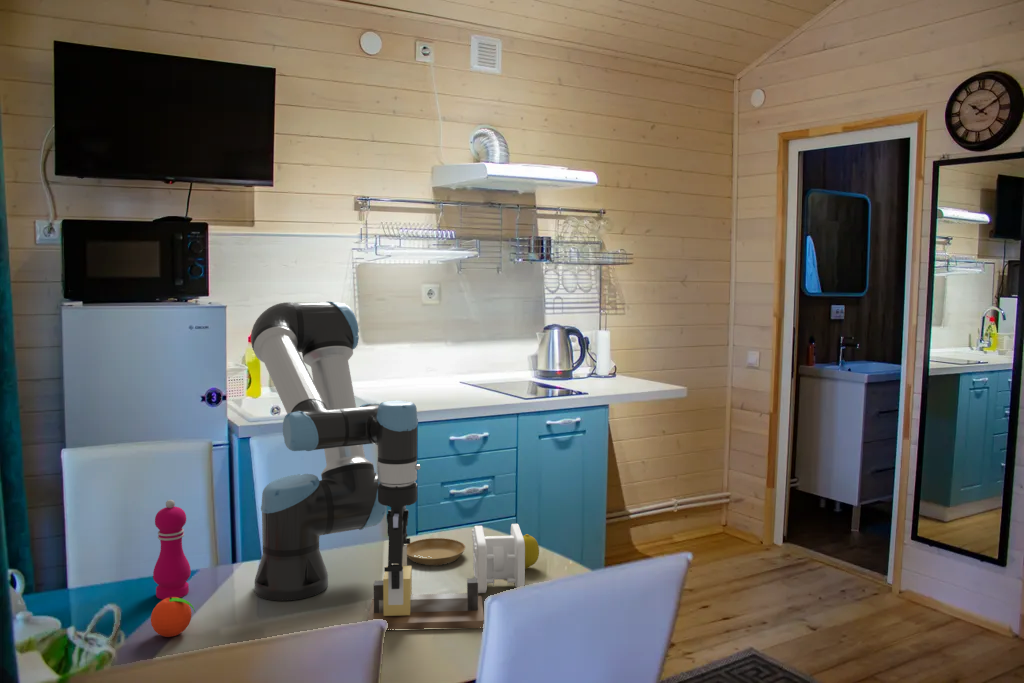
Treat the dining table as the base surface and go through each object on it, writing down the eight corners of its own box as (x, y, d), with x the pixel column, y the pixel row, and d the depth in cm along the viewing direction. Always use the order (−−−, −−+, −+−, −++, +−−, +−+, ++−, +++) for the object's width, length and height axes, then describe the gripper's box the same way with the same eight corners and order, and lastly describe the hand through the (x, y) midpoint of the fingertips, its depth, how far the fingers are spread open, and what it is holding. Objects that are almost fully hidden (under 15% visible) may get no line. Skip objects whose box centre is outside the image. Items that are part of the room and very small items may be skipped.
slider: (383, 615, 151) (383, 579, 151) (386, 601, 158) (386, 566, 157) (410, 615, 151) (409, 578, 151) (411, 600, 158) (411, 565, 158)
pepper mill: (147, 594, 166) (145, 499, 164) (181, 584, 171) (179, 493, 170) (162, 603, 161) (160, 506, 159) (197, 593, 166) (195, 499, 165)
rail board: (366, 631, 148) (365, 595, 148) (372, 605, 160) (371, 571, 160) (484, 628, 150) (484, 592, 150) (481, 602, 162) (481, 569, 162)
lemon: (543, 567, 183) (543, 533, 182) (530, 574, 178) (530, 539, 178) (523, 562, 186) (523, 528, 185) (509, 569, 181) (510, 534, 181)
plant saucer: (427, 574, 179) (427, 562, 179) (390, 557, 190) (390, 546, 189) (478, 559, 189) (478, 548, 189) (440, 544, 200) (440, 534, 199)
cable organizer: (525, 597, 165) (526, 542, 165) (475, 599, 164) (475, 544, 163) (518, 571, 180) (518, 521, 179) (471, 572, 179) (471, 522, 178)
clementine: (203, 627, 150) (203, 590, 150) (187, 644, 143) (186, 605, 143) (162, 626, 150) (160, 590, 150) (144, 643, 143) (142, 604, 143)
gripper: (414, 499, 141) (414, 616, 142) (419, 467, 166) (419, 566, 167) (371, 500, 140) (372, 617, 142) (383, 467, 165) (383, 567, 167)
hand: (398, 590), depth 155 cm, fingers open, 13 cm apart
